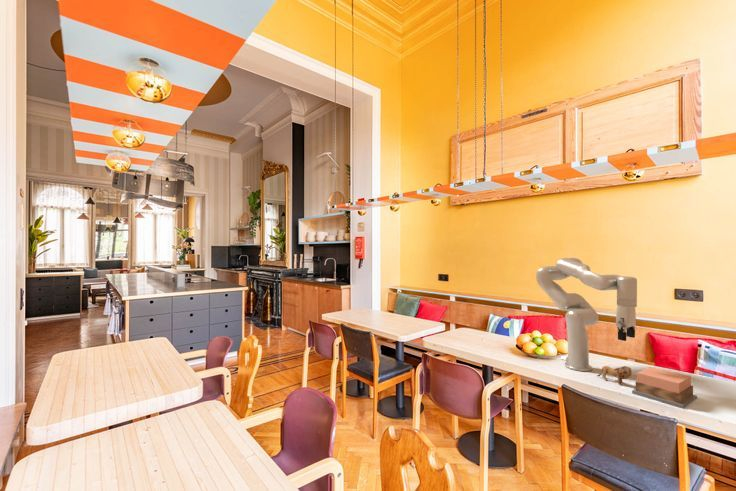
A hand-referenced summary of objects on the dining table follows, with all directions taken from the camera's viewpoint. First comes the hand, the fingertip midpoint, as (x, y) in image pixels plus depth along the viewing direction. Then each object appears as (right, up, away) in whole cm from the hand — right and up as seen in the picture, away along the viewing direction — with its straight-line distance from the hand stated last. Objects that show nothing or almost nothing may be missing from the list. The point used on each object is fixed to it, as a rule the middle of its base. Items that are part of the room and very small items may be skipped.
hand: (626, 338), depth 157 cm
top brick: (+6, -16, -13) cm, 21 cm away
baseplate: (+6, -21, -13) cm, 26 cm away
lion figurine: (-3, -22, +3) cm, 22 cm away
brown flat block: (+6, -20, -13) cm, 25 cm away
